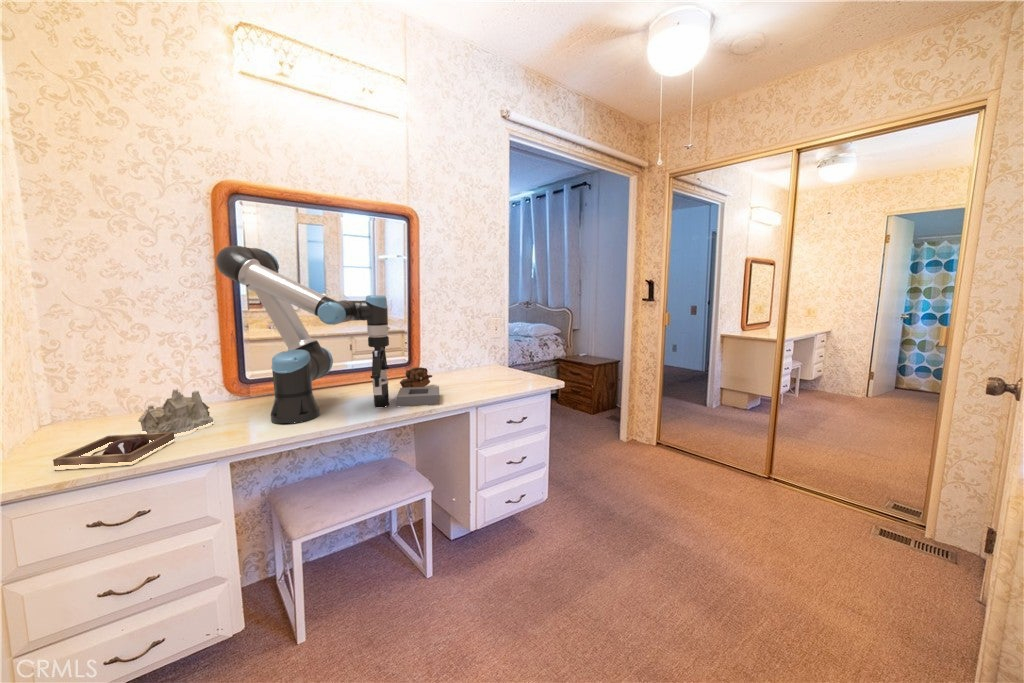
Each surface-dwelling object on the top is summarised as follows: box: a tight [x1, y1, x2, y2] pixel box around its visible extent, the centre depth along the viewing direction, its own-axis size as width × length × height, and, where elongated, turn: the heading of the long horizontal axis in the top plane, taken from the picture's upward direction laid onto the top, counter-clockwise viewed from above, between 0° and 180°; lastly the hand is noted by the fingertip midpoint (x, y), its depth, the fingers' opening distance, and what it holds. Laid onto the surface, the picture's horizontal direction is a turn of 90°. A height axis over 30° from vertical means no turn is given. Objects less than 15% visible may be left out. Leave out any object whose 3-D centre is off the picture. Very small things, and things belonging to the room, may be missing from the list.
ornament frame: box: [52, 432, 175, 467], centre depth 106 cm, size 17×16×3 cm
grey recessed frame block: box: [395, 385, 440, 407], centre depth 156 cm, size 16×14×4 cm
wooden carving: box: [399, 366, 433, 388], centre depth 174 cm, size 16×5×10 cm, turn 143°
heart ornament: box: [101, 437, 149, 455], centre depth 107 cm, size 6×12×11 cm
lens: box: [372, 378, 390, 408], centre depth 150 cm, size 6×6×10 cm
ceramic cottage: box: [137, 388, 214, 434], centre depth 124 cm, size 16×16×15 cm
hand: (381, 390), depth 149 cm, fingers open, 13 cm apart
